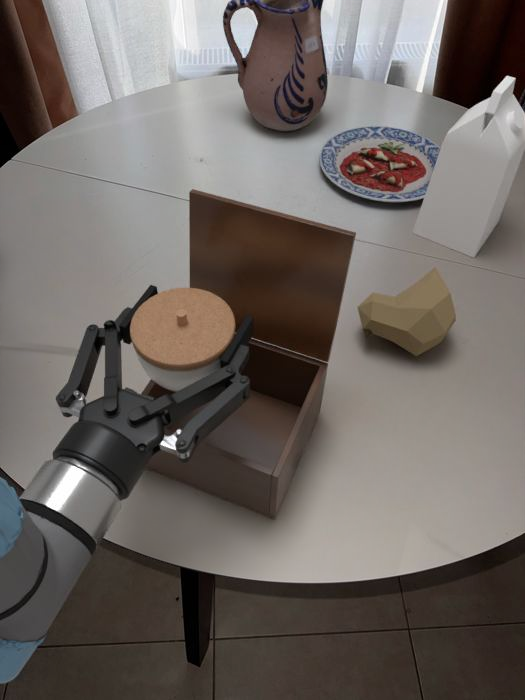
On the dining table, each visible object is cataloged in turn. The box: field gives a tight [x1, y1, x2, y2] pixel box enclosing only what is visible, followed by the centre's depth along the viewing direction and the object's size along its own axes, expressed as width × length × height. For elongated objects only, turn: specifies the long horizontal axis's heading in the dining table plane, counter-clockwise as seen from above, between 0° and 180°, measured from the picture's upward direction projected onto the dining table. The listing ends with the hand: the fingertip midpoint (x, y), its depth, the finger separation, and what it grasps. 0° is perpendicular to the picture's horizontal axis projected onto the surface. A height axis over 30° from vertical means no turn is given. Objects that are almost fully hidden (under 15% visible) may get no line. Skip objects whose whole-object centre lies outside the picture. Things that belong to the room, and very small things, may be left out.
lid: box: [188, 188, 357, 363], centre depth 66 cm, size 17×19×1 cm
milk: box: [412, 75, 525, 259], centre depth 94 cm, size 12×12×26 cm
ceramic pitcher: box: [222, 0, 329, 132], centre depth 117 cm, size 18×21×25 cm
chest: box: [140, 333, 329, 521], centre depth 72 cm, size 17×19×11 cm
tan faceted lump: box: [356, 266, 457, 357], centre depth 84 cm, size 15×11×12 cm
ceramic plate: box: [319, 125, 441, 203], centre depth 114 cm, size 26×26×3 cm
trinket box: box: [130, 287, 236, 392], centre depth 61 cm, size 11×11×9 cm
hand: (201, 309), depth 63 cm, fingers closed on trinket box, 11 cm apart
